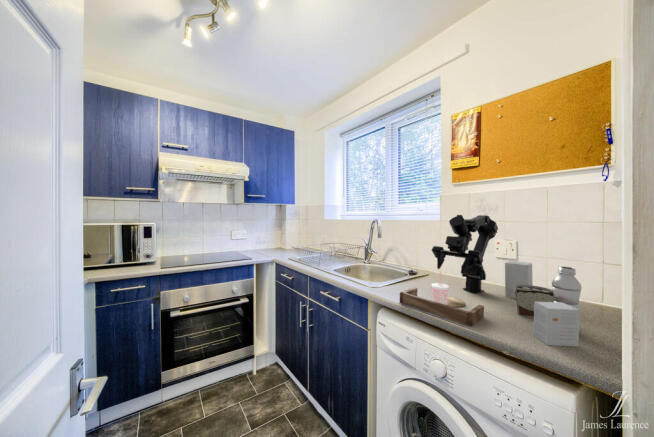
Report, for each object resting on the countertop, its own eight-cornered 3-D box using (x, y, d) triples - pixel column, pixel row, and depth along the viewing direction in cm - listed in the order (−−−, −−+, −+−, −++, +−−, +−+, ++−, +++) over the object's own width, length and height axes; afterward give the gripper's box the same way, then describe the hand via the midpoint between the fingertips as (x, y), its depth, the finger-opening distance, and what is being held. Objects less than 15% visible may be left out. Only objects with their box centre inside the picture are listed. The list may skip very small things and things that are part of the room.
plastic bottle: (584, 339, 70) (586, 271, 70) (553, 333, 74) (555, 268, 73) (576, 330, 76) (578, 267, 75) (548, 324, 79) (549, 264, 79)
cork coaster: (444, 296, 106) (444, 295, 106) (469, 302, 98) (469, 301, 98) (433, 301, 100) (433, 300, 100) (459, 309, 92) (459, 307, 92)
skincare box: (533, 299, 102) (533, 263, 102) (527, 302, 99) (528, 265, 98) (509, 294, 109) (510, 260, 109) (503, 296, 106) (504, 261, 105)
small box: (561, 336, 71) (562, 302, 71) (579, 347, 66) (580, 309, 66) (532, 335, 72) (533, 300, 72) (547, 345, 67) (548, 308, 66)
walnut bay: (414, 296, 106) (414, 287, 106) (483, 317, 85) (483, 305, 85) (399, 302, 99) (399, 292, 99) (471, 326, 78) (471, 314, 78)
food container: (546, 313, 89) (547, 286, 88) (556, 320, 83) (557, 291, 82) (507, 308, 93) (507, 282, 92) (513, 315, 87) (514, 287, 87)
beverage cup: (431, 310, 91) (432, 273, 90) (430, 304, 96) (431, 269, 96) (449, 312, 89) (450, 275, 88) (447, 306, 94) (448, 271, 94)
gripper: (434, 228, 107) (420, 255, 101) (481, 230, 93) (469, 262, 86) (442, 244, 112) (429, 271, 106) (487, 249, 98) (476, 280, 91)
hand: (449, 270), depth 97 cm, fingers open, 9 cm apart
